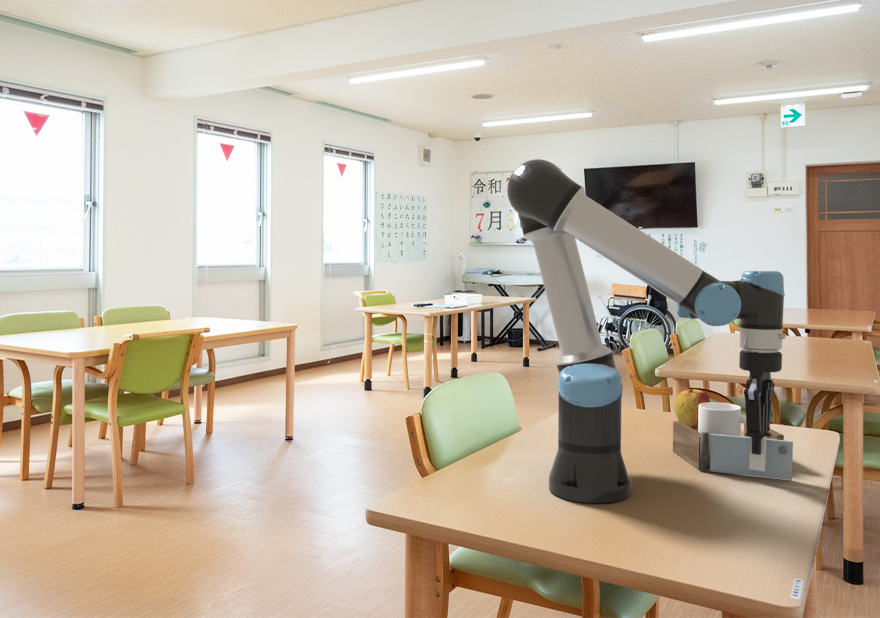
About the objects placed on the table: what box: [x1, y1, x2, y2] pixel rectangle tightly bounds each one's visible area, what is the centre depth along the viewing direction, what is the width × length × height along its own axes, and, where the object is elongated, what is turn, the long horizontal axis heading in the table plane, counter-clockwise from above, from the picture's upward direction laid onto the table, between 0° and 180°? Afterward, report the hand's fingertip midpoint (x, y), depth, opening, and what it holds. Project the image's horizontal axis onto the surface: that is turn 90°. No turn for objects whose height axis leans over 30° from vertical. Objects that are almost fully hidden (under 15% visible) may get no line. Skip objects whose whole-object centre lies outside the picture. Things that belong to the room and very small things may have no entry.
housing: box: [672, 420, 785, 473], centre depth 150 cm, size 18×16×8 cm
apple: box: [673, 388, 711, 429], centre depth 181 cm, size 9×9×10 cm
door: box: [709, 434, 794, 481], centre depth 139 cm, size 15×2×8 cm, turn 65°
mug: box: [697, 401, 746, 458], centre depth 150 cm, size 9×12×11 cm
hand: (757, 469), depth 136 cm, fingers closed
